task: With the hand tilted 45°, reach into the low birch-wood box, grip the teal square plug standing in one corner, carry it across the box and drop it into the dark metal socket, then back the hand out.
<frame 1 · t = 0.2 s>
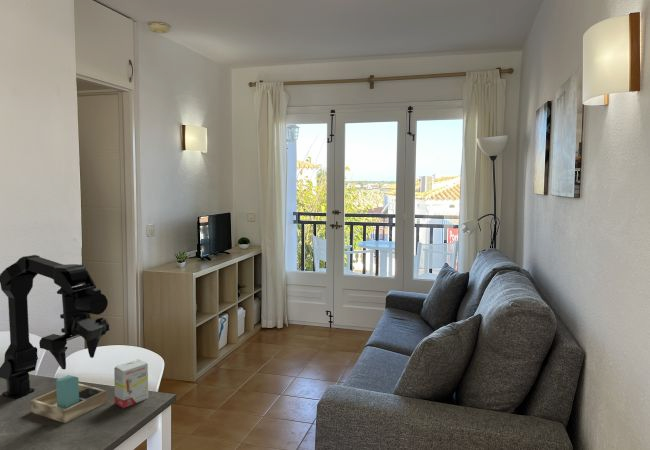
hand: (78, 363, 141), 15 cm above the table, tool pointing down, fingers open, 9 cm apart
ink box: (132, 402, 150), on the table
plug: (68, 414, 141), resting on walled box
walled box: (69, 408, 145), on the table
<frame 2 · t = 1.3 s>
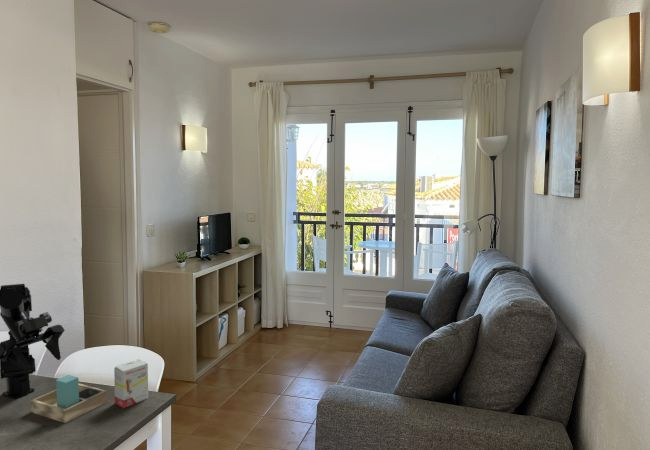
hand: (45, 364, 143), 13 cm above the table, tool tilted 45°, fingers open, 9 cm apart
nothing on the table moved.
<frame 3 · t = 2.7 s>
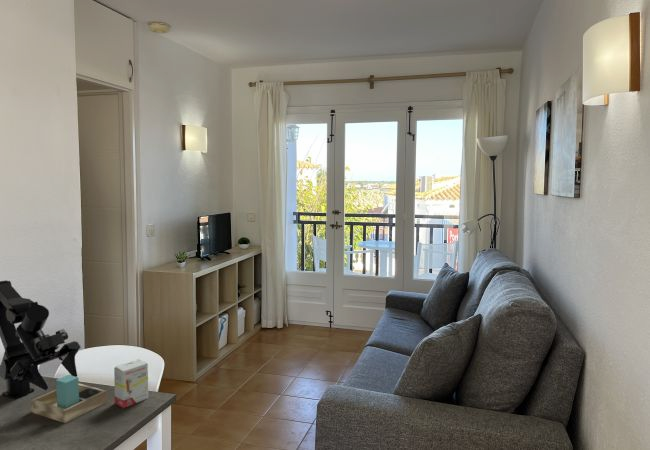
hand: (62, 383, 140), 9 cm above the table, tool tilted 45°, fingers open, 9 cm apart
nothing on the table moved.
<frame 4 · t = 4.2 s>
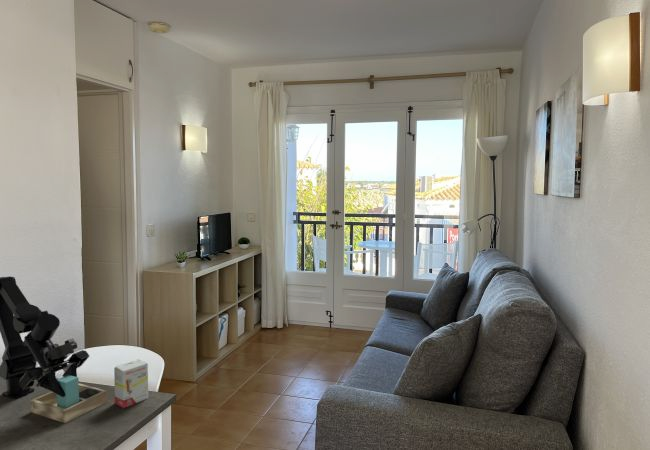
hand: (71, 393, 139), 7 cm above the table, tool tilted 45°, fingers closed on plug, 4 cm apart
plug: (68, 414, 141), point 1 cm above the table, touching gripper, walled box
everything else where it was.
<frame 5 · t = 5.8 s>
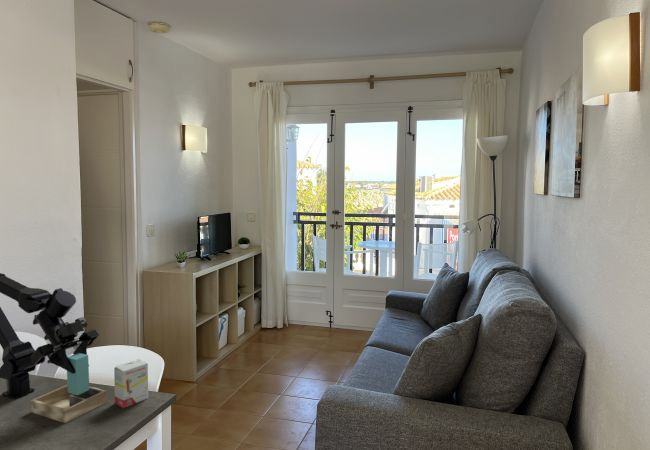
hand: (81, 370, 142), 13 cm above the table, tool tilted 45°, fingers closed on plug, 4 cm apart
plug: (78, 391, 143), point 6 cm above the table, touching gripper
everything else where it was.
when the fingers open (9 cm above the table, at t = 7.3 s): plug drops 1 cm, resting on walled box.
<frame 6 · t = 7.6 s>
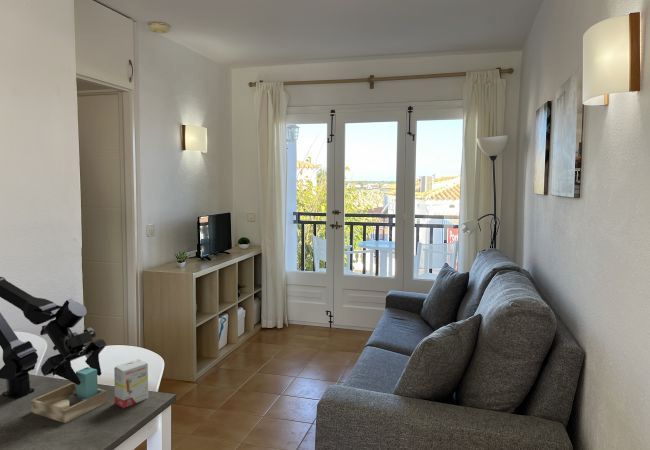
hand: (90, 379, 145), 9 cm above the table, tool tilted 45°, fingers open, 7 cm apart
plug: (87, 404, 146), resting on walled box
everything else where it was.
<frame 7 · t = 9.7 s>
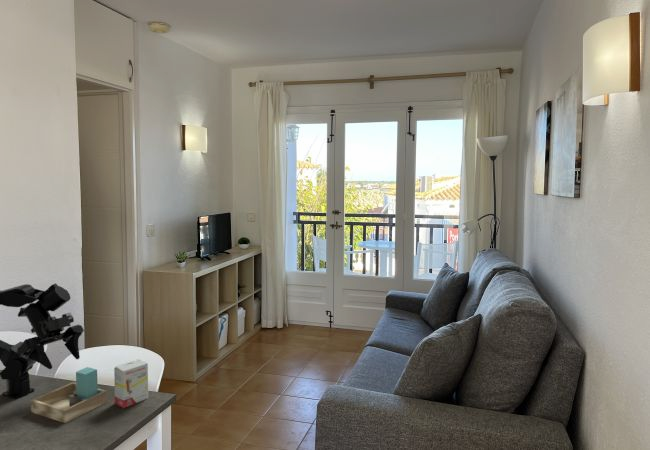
hand: (65, 363, 148), 12 cm above the table, tool tilted 40°, fingers open, 9 cm apart
nothing on the table moved.
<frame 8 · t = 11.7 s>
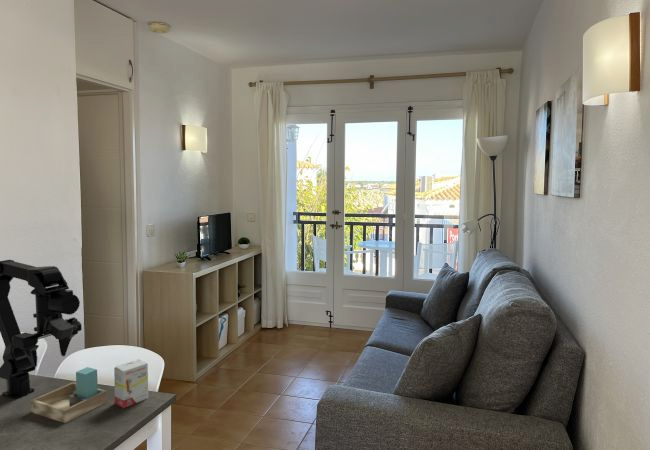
hand: (49, 361, 147), 13 cm above the table, tool pointing down, fingers open, 9 cm apart
nothing on the table moved.
at the end: plug 0.0 cm from the target spot on the walled box, point 0.5 cm above the walled box's base; plug tilted 0°; the gripper is holding nothing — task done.
